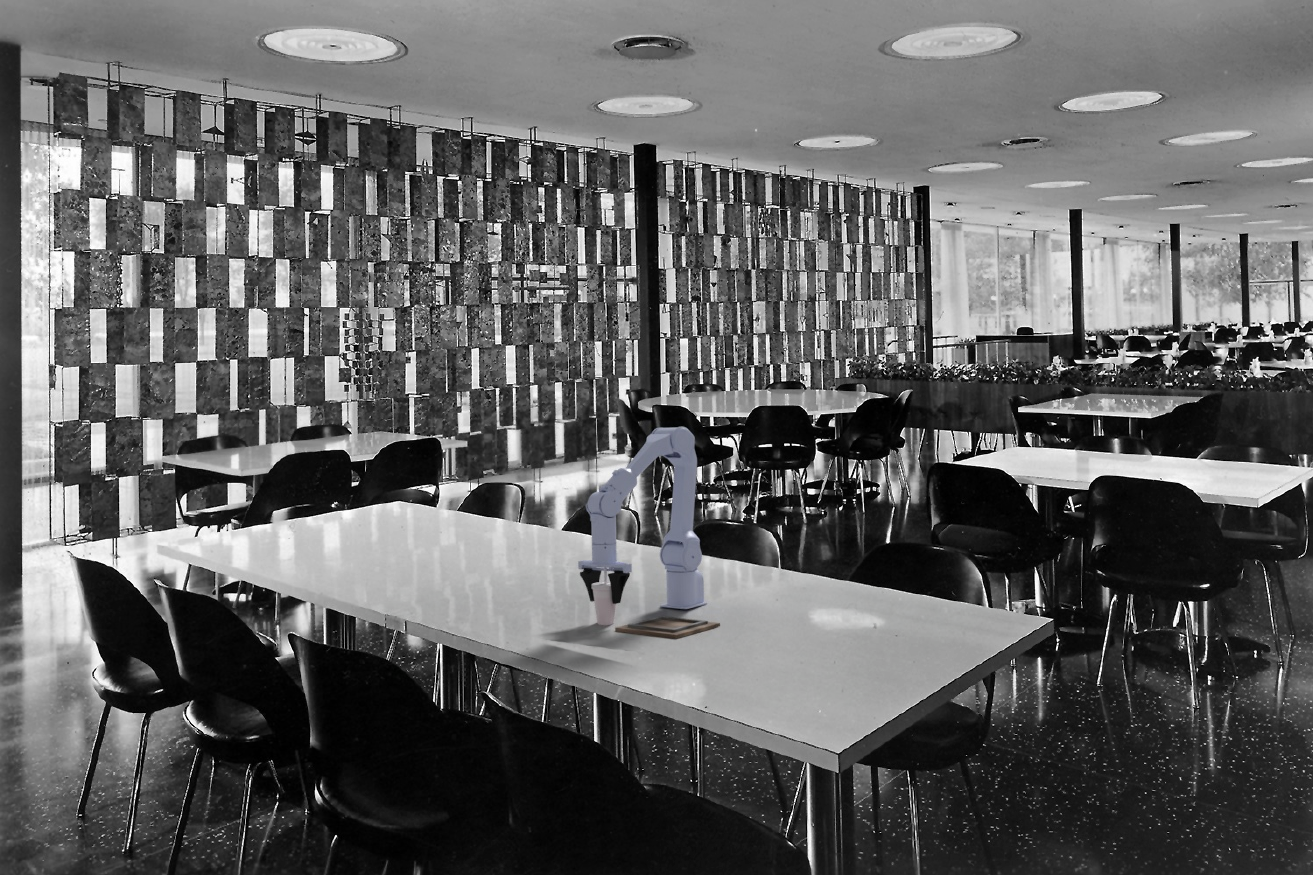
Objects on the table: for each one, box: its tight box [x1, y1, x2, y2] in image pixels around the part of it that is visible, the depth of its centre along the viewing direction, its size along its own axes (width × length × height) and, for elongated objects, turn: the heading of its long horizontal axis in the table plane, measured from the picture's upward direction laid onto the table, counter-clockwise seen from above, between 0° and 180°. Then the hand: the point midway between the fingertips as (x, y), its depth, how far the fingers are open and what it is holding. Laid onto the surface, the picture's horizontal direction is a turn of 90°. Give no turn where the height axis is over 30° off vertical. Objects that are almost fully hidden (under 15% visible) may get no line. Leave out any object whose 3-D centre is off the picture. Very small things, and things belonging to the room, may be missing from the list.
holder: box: [614, 615, 721, 639], centre depth 238 cm, size 17×17×1 cm
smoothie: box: [592, 568, 617, 626], centre depth 244 cm, size 6×6×14 cm
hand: (605, 602), depth 244 cm, fingers closed on smoothie, 6 cm apart
